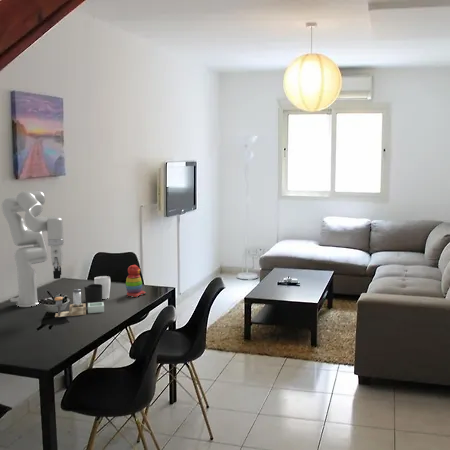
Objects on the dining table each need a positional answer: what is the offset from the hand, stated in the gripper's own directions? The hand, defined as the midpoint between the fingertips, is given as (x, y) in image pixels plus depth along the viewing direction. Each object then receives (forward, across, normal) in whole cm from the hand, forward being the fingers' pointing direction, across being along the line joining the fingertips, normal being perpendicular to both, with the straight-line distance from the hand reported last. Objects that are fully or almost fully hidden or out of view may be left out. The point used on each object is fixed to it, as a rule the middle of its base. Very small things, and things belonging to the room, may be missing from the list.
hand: (57, 276), depth 279 cm
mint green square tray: (+20, +2, -18) cm, 27 cm away
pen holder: (+20, +20, -17) cm, 33 cm away
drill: (+19, 0, -9) cm, 21 cm away
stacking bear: (+20, +33, -40) cm, 56 cm away
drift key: (+15, 0, 0) cm, 15 cm away
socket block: (+20, 0, -6) cm, 21 cm away
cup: (+20, +31, -22) cm, 43 cm away
